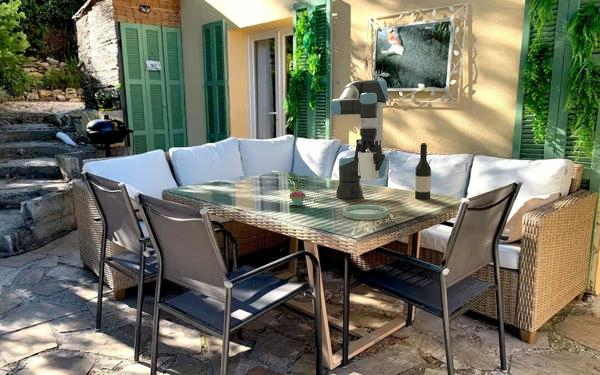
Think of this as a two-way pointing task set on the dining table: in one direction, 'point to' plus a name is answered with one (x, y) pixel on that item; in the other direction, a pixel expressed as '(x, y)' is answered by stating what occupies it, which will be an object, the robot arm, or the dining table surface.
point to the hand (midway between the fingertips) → (368, 176)
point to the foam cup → (366, 165)
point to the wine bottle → (423, 176)
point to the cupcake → (297, 197)
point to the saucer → (365, 212)
